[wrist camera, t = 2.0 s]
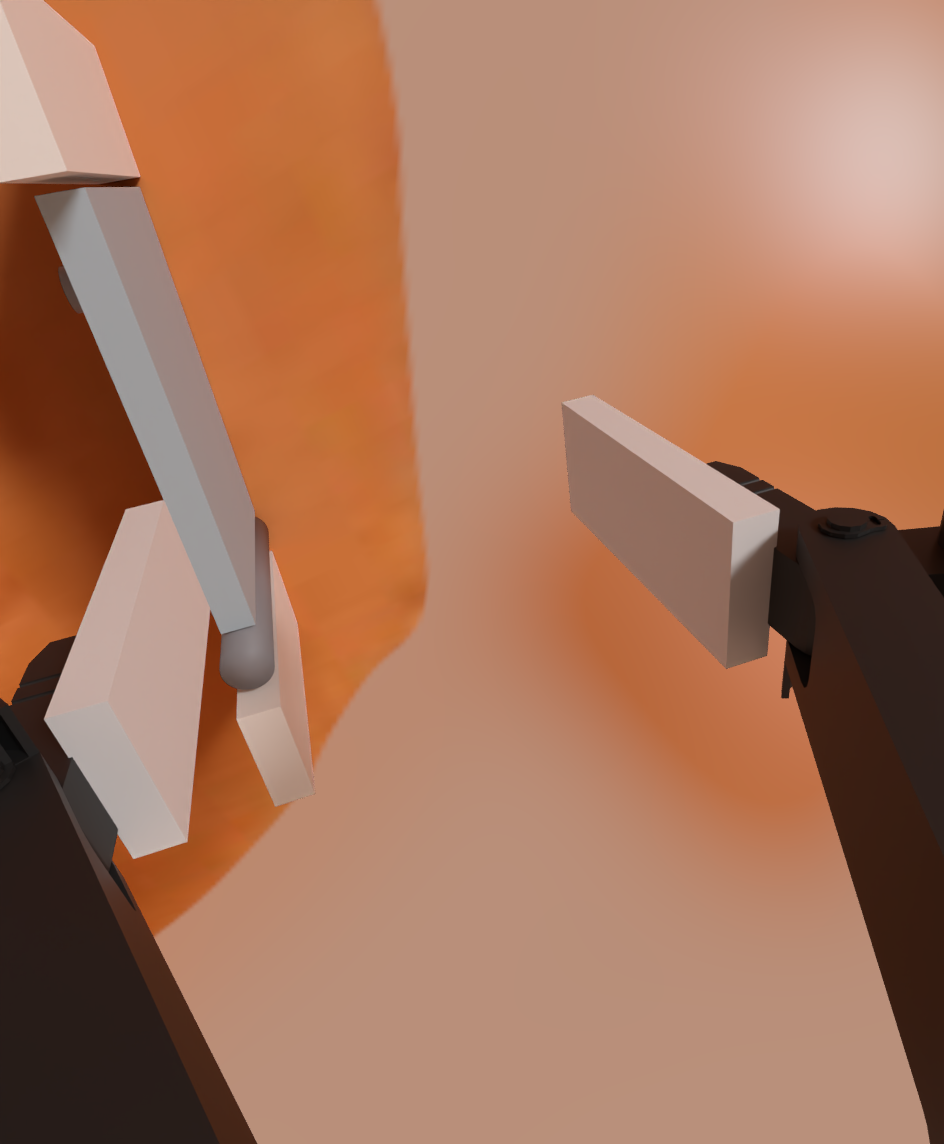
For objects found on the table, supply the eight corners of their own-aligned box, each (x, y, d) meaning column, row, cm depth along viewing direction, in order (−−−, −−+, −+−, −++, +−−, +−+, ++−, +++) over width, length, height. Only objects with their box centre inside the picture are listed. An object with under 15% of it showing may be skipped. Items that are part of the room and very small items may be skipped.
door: (273, 544, 34) (281, 680, 24) (217, 559, 33) (203, 703, 24) (148, 185, 26) (89, 185, 16) (72, 198, 25) (-32, 206, 16)
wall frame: (48, 52, 23) (-109, -51, 13) (94, 45, 23) (-24, -60, 13) (269, 631, 36) (275, 806, 26) (297, 623, 36) (315, 793, 26)
